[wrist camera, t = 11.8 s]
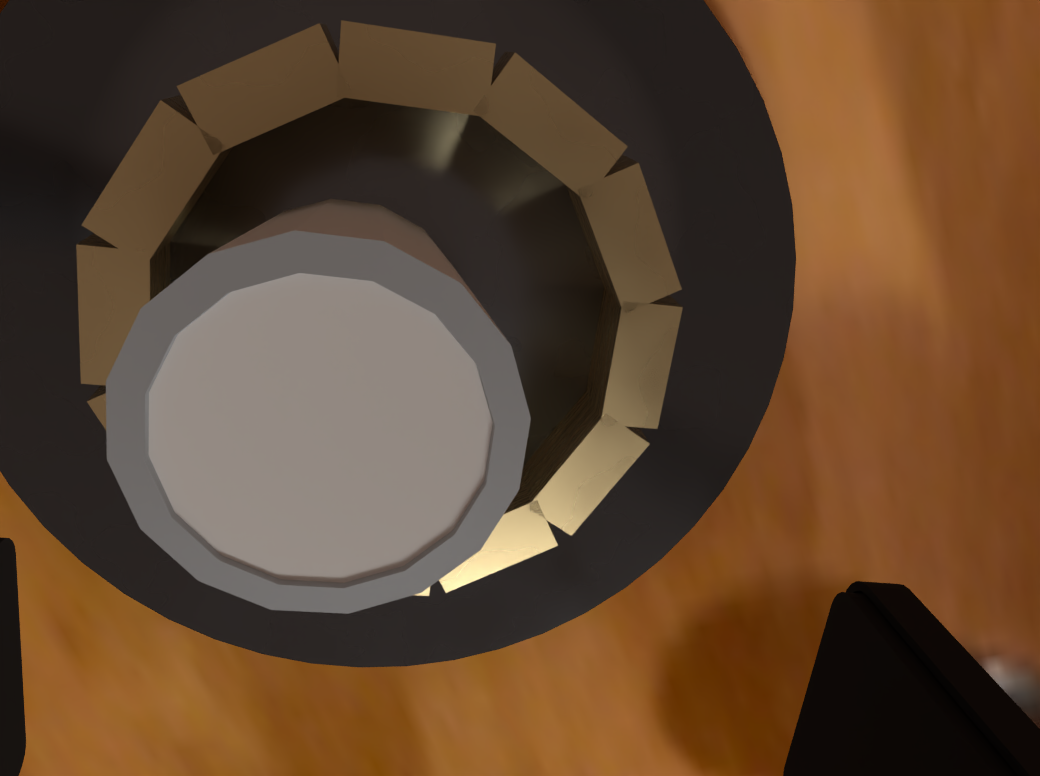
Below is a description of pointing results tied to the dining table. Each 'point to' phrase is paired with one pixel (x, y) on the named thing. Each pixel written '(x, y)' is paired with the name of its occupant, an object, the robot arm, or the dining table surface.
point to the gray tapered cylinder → (318, 413)
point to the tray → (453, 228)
